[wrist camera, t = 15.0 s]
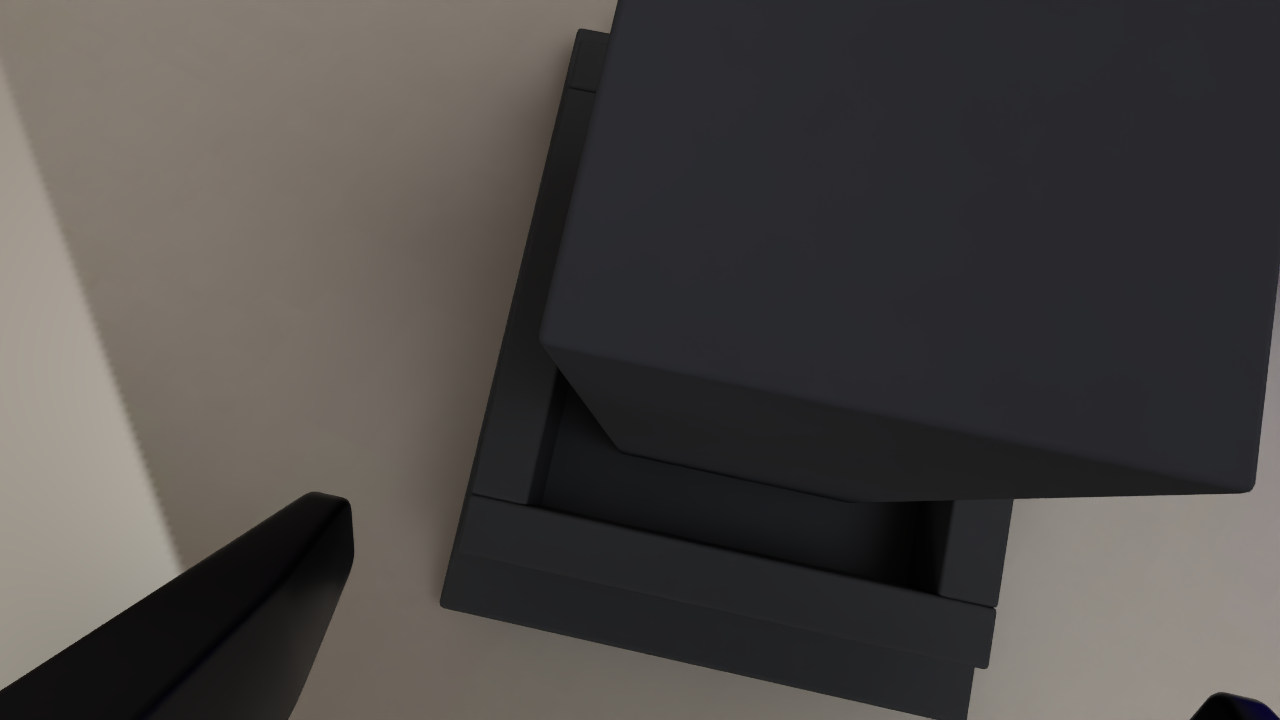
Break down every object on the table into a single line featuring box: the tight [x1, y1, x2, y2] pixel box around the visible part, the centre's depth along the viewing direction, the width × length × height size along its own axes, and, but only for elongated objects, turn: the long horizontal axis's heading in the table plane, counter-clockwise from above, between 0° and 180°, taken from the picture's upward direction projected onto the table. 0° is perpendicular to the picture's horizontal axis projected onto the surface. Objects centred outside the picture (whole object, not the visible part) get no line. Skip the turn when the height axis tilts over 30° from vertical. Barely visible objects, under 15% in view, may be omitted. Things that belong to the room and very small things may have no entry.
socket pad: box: [440, 29, 1013, 720], centre depth 17 cm, size 12×10×3 cm
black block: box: [539, 0, 1280, 503], centre depth 12 cm, size 5×4×12 cm
